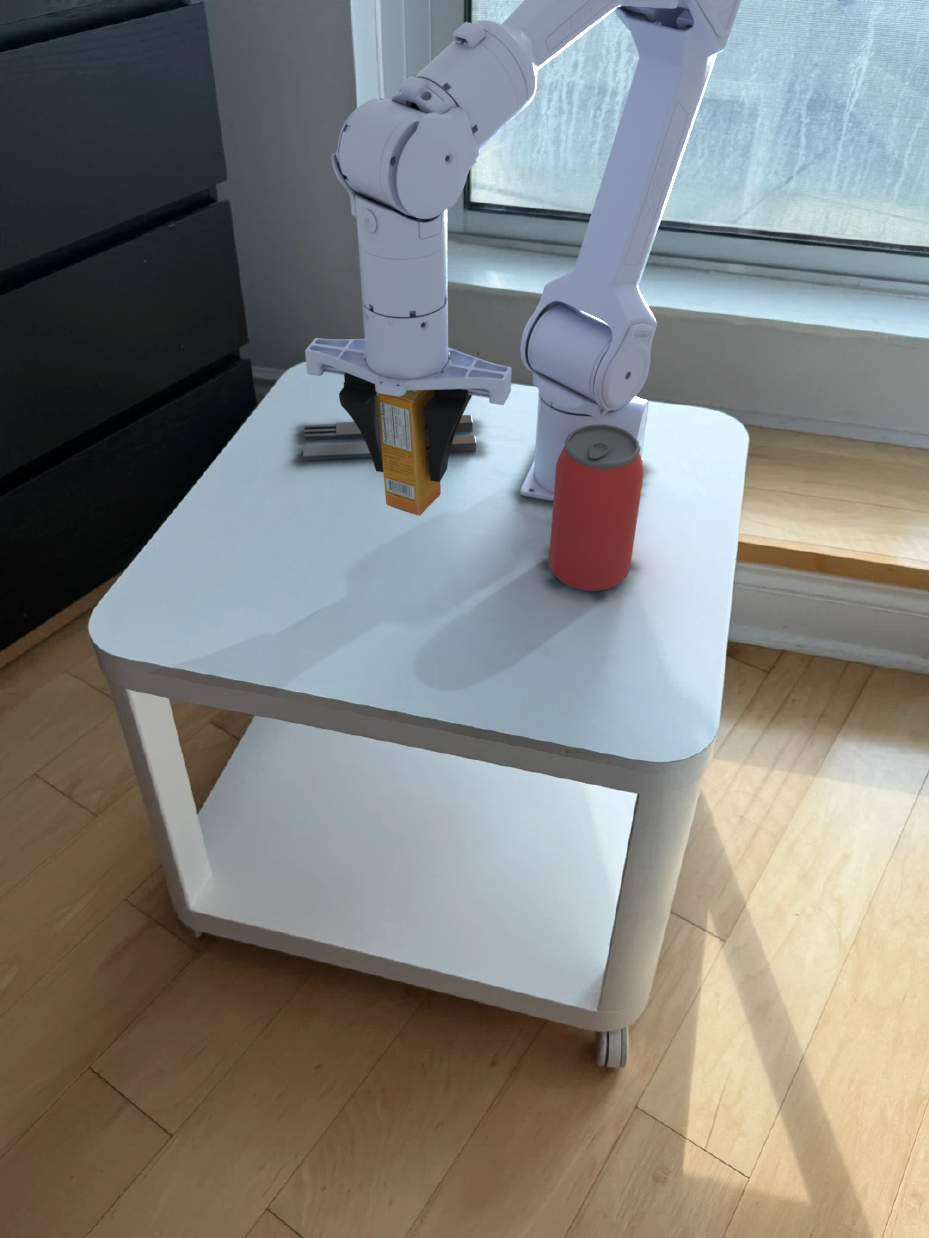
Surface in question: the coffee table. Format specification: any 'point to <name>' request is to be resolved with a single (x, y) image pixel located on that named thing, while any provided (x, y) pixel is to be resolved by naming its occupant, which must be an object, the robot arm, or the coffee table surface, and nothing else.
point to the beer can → (595, 507)
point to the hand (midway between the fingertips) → (411, 469)
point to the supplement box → (406, 451)
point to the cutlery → (360, 449)
